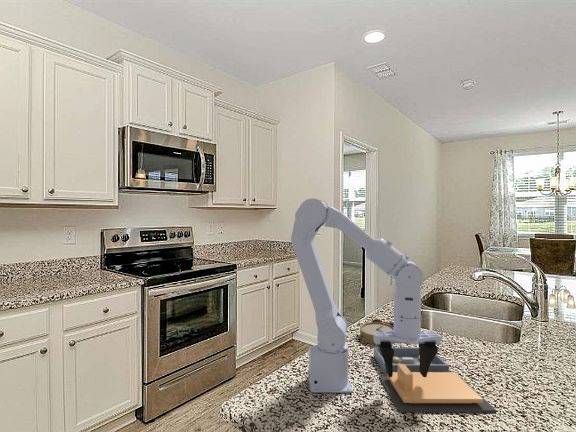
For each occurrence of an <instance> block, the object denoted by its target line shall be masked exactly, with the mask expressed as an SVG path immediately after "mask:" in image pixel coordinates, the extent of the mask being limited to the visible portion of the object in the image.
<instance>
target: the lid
mask: <svg viewBox="0 0 576 432" xmlns="http://www.w3.org/2000/svg"><path fill="white" fill-rule="evenodd" d="M386 376H387V377H388V378H389V380H390V382H391V383H392V385H393V386H394V388H395V389H396V391H397V393H398V394H399V396H400V397H401V399H402V401H403V402H404V403H483V398H484V397H483V396H482V397H483V398H482V397H480V396H479V395H478V394H479V393H478V392H477V391H476V390H475V389H474V388H473V387H472V386H471V385H470V384H469V383H468V382H467V383H468V384H469V385H470V386H471V387H472V388H473V389H474V390H475V391H476V392H477V393H478V394H477V393H476V392H475V391H474V390H473V389H472V388H471V387H470V386H469V385H468V384H467V383H465V382H464V381H465V380H464V379H463V378H462V377H461V376H460V377H461V378H462V379H463V380H464V381H463V380H462V379H461V378H460V377H459V375H458V374H457V373H456V372H455V371H453V372H451V371H449V372H428V373H427V377H423V376H422V375H421V374H420V372H411V371H410V370H409V369H408V368H407V366H406V365H405V364H398V372H393V375H392V377H389V376H388V375H386Z"/></svg>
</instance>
